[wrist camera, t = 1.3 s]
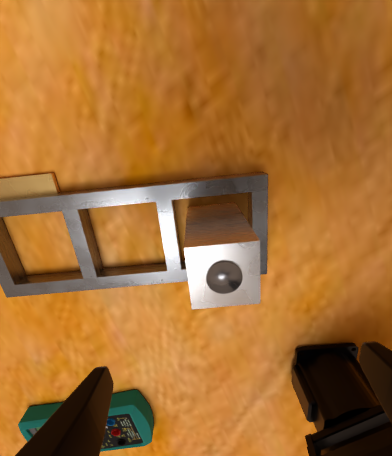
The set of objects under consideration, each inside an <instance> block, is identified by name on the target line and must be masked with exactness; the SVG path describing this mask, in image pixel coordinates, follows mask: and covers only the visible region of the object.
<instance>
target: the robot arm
mask: <svg viewBox="0 0 392 456" xmlns="http://www.w3.org/2000/svg"><path fill="white" fill-rule="evenodd" d="M357 354H358V347H357V346H356V344H354V343H346V344H333V345H321V346H309V347H299V348H297V349H296V351H295V363H294V365H293V367H292V384H293V388H294V390H295V392H296V394H297V397H298V399H299V402H300V404H301V407H302V409H303V412H304V414H305V417H306V419H307V420H308V421H309V422H313V423H314V425H315V427H316V430H317V432H316V433H314V434H312V435H311V434H308V435H306V436H305V438H306V442H307V446H308V447H307V449H308V453H309V456H392V351H391V350H390V349H388V348H386V347H385V346H383V345H381V344H380V343H378V342H375V341H371V342H363V343H362V345H361V351H360V356H359V362H360V363H359V362H358V361H357ZM112 392H113V380H112V377H111V374H110V372H109V369H108V367H106V366H104V367H96V368H95V369H93V371H92V372H91V373H90V374H89V375H88V376H87V377H86V378H85V379H84V380H83V382H82V383H81V384H80V385H79V386H78V387H77V388H76V389H75V390H74V391H73V393H72V394H71V395H70V396H69V397H68V398H67V399H66V400H65V401H64V402H63V404H62V405H61V406H60V407H59V408H58V409H57V410H56V411H55V412H54V413H53V415H52V416H51V417H50V418H49V419H48V420H47V421H46V422H45V423H44V424H43V426H42V427H41V428H40V429H39V430H38V431H37V432H36V433H35V434H34V435H33V437H32V438H31V439H30V440H29V441H28V442H27V443H26V444H25V445H24V446H23V448H22V449H21V450H20V451H19V452H18V453H17V454H16V455H15V456H99V454H100V450H101V447H102V443H103V439H104V434H105V429H106V424H107V418H108V413H109V408H110V403H111V397H112Z"/></svg>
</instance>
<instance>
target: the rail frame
mask: <svg viewBox="0 0 392 456" xmlns="http://www.w3.org/2000/svg"><path fill="white" fill-rule="evenodd" d="M246 192H248V223H249V225H250V226H251V228H252V229H253V231H254V232H255V234H256V235H257V237H258V238H259V240H260V274H267V218H268V174H266V173H264V172H255V173H246V174H236V175H226V176H216V177H207V178H197V179H187V180H177V181H168V182H158V183H148V184H139V185H129V186H119V187H109V188H100V189H90V190H80V191H70V192H61V193H60V190H59V187H58V184H57V181H56V178H55V174H54V173H48V174H38V175H29V176H19V177H10V178H0V284H1V286H2V288H3V291H4V293H5V295H6V297H17V296H28V295H39V294H50V293H61V292H72V291H83V290H94V289H106V288H117V287H128V286H139V285H150V284H161V283H172V282H183V281H188V276H187V268H186V261H182V257H181V250H180V243H179V236H178V228H177V221H176V214H175V207H174V200H176V199H186V198H196V197H206V196H216V195H226V194H236V193H246ZM146 202H156V205H157V211H158V217H159V223H160V229H161V235H162V241H163V247H164V253H165V259H166V263H158V264H147V265H136V266H126V267H115V268H104V269H103V265H102V262H101V258H100V255H99V251H98V247H97V244H96V240H95V237H94V233H93V229H92V226H91V222H90V219H89V215H88V211H87V208H97V207H107V206H117V205H127V204H137V203H146ZM57 211H62V212H63V215H64V219H65V222H66V225H67V228H68V231H69V234H70V237H71V241H72V244H73V247H74V250H75V253H76V256H77V259H78V263H79V266H80V269H81V271H72V272H61V273H50V274H39V275H29V276H26V274H25V272H24V269H23V267H22V265H21V262H20V260H19V257H18V255H17V253H16V250H15V248H14V245H13V243H12V241H11V238H10V236H9V233H8V231H7V229H6V226H5V224H4V222H3V219H2V217H7V216H17V215H27V214H37V213H47V212H57Z"/></svg>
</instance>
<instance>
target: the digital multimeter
mask: <svg viewBox="0 0 392 456" xmlns="http://www.w3.org/2000/svg"><path fill="white" fill-rule="evenodd" d="M62 404H63V402H60V403H52V404H44V405H37V406H32V407H29V408H28V409H27V411H26V412H25V414H24V416H23V417H22V419H21V421H20V422H19V424H18V426H19V428H20V431H21V433H22V434H23V436H24V438H25V439H26V440H27V442H28V441H29V440H30V439H31V438H32V437H33V435H34V434H35V433H36V432H37V431H38V430H39V429H40V428H41V427H42V426H43V424H44V423H45V422H46V421H47V420H48V419H49V418H50V417H51V416H52V415H53V413H54V412H55V411H56V410H57V409H58V408H59V407H60V406H61V405H62ZM153 428H154V420H153V413H152V410H151V408H150V405H149V404H148V402H147V401H146V400H145V398H144V397H143V396H142V395H141V394H140V392H139V391H138V390H129V391H124V392H120V393H115V394H112V397H111V403H110V408H109V413H108V418H107V424H106V429H105V434H104V439H103V443H102V447H101V450H100V452H101V451H108V450H116V449H124V448H132V447H140V446H145V445H147V444H149V443H151V442H152V435H153Z"/></svg>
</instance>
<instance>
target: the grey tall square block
mask: <svg viewBox="0 0 392 456" xmlns="http://www.w3.org/2000/svg"><path fill="white" fill-rule="evenodd" d="M184 253H185V260H186V268H187V276H188V283H189V291H190V298H191V306H192V309H202V308H213V307H225V306H236V305H247V304H259V303H260V240H259V238H258V237H257V235H256V234H255V232H254V231H253V229H252V228H251V226H250V225H249V223H248V222H247V220H246V218H245V217H244V215H243V214H242V212H241V211H240V209H239V208H238V206H237V205H236V203H235V202H232V203H222V204H212V205H202V206H192V207H188V209H187V219H186V230H185V241H184Z"/></svg>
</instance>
